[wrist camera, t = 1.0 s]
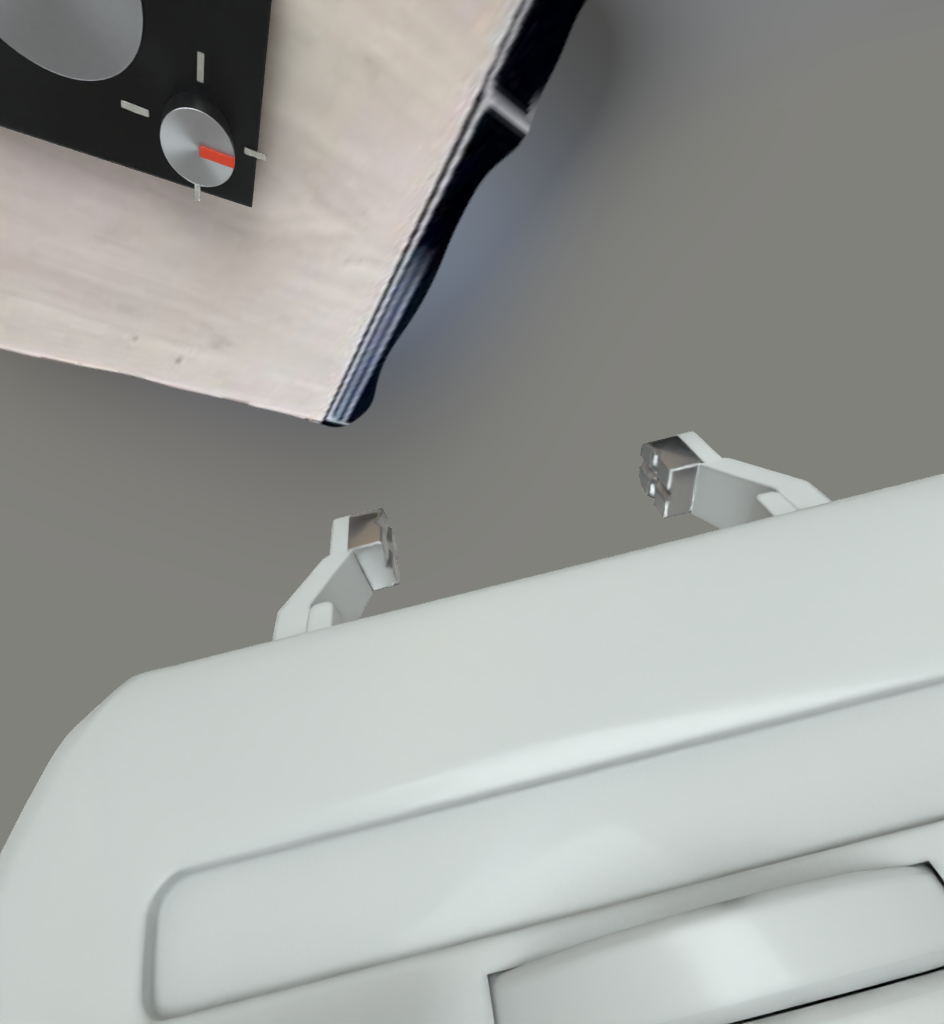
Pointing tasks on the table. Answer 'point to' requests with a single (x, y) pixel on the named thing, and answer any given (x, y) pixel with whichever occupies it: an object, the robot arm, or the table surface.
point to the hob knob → (197, 140)
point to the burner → (74, 34)
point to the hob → (154, 90)
